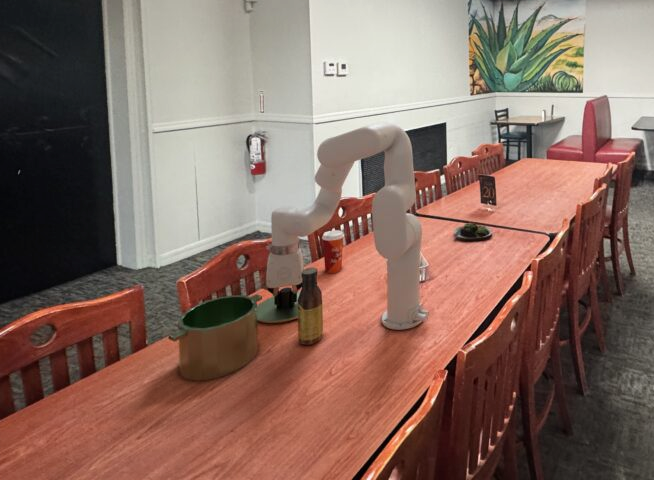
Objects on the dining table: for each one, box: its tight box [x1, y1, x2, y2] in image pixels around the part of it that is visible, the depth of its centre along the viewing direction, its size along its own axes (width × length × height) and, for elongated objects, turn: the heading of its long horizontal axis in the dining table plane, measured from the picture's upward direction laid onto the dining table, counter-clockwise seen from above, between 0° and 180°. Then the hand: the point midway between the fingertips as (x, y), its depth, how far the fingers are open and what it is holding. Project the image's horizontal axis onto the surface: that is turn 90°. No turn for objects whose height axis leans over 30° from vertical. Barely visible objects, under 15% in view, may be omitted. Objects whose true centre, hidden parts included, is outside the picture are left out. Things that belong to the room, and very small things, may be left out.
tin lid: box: [257, 286, 301, 324], centre depth 139 cm, size 18×18×6 cm
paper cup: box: [321, 229, 345, 274], centre depth 167 cm, size 8×8×14 cm
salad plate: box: [453, 222, 493, 242], centre depth 207 cm, size 19×18×5 cm
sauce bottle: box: [297, 266, 324, 346], centre depth 123 cm, size 7×6×20 cm
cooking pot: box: [168, 293, 263, 381], centre depth 115 cm, size 17×22×12 cm
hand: (285, 304), depth 139 cm, fingers closed on tin lid, 3 cm apart
